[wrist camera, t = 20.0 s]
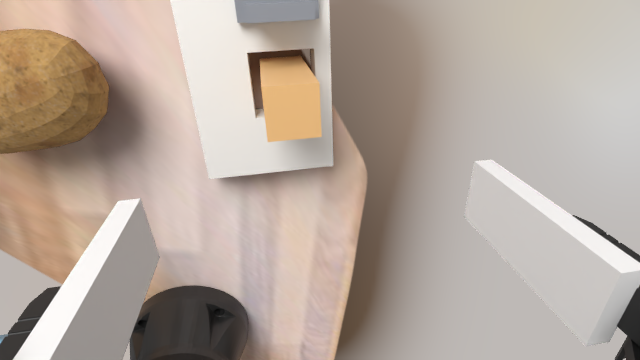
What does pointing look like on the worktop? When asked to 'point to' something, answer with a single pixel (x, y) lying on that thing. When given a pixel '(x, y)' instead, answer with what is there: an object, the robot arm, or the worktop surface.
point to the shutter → (275, 10)
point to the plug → (290, 99)
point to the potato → (47, 91)
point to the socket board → (248, 86)
